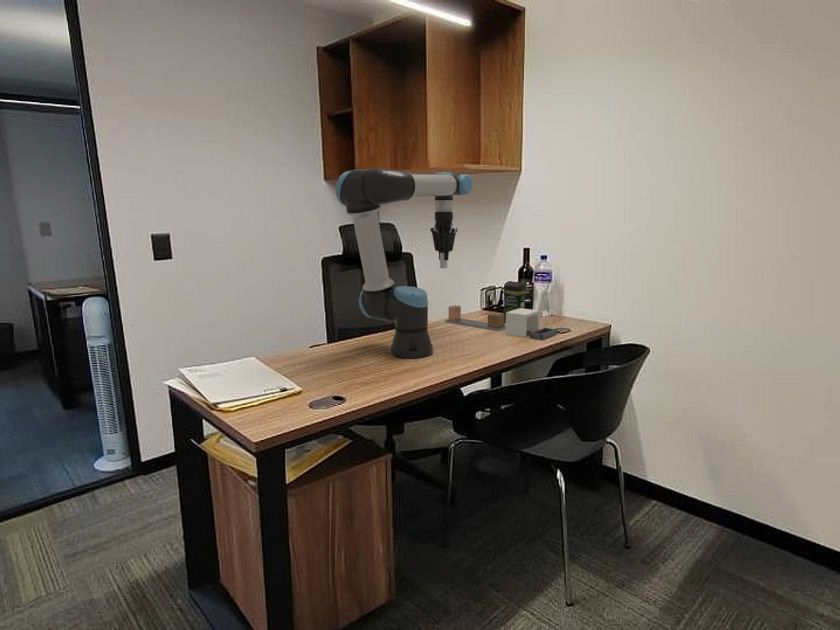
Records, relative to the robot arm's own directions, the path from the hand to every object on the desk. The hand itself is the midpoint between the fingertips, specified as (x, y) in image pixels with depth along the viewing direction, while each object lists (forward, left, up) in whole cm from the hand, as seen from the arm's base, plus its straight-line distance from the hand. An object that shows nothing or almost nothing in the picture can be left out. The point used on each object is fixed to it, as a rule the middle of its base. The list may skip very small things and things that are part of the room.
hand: (443, 268), depth 218 cm
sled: (+12, -8, -26) cm, 29 cm away
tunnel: (+12, -32, -26) cm, 43 cm away
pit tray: (+12, -41, -26) cm, 50 cm away
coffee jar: (+27, -19, -26) cm, 42 cm away
